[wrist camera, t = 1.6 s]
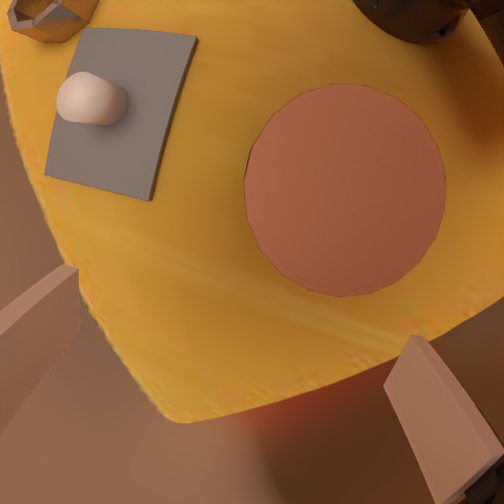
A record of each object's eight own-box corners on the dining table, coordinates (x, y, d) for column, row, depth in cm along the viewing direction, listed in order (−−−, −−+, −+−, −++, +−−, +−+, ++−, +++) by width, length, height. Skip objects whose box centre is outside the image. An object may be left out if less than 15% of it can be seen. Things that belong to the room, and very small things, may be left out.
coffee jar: (226, 153, 30) (197, 153, 13) (315, 102, 29) (390, 51, 11) (280, 239, 33) (311, 333, 16) (364, 190, 31) (468, 233, 14)
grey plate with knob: (88, 31, 25) (53, 8, 17) (198, 40, 26) (183, 8, 18) (49, 174, 30) (6, 183, 22) (151, 199, 32) (122, 215, 24)
